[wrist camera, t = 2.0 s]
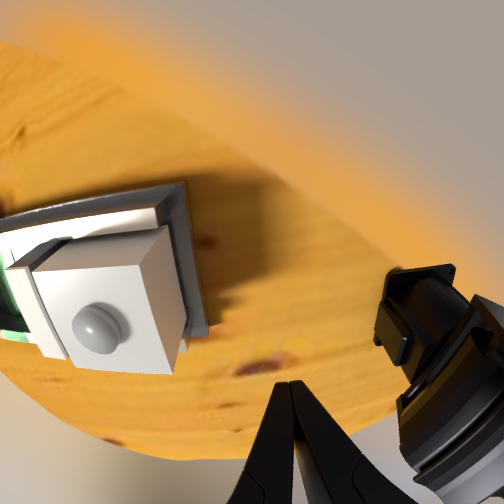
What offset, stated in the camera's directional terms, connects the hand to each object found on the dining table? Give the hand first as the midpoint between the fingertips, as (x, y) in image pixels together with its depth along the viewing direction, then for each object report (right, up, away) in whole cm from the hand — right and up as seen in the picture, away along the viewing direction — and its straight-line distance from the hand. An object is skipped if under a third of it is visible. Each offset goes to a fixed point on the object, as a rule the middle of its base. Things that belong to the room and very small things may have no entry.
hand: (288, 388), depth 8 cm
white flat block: (-13, +2, +8) cm, 16 cm away
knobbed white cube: (-8, +3, +8) cm, 12 cm away
